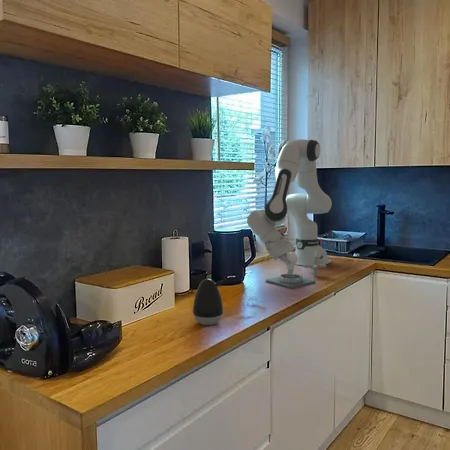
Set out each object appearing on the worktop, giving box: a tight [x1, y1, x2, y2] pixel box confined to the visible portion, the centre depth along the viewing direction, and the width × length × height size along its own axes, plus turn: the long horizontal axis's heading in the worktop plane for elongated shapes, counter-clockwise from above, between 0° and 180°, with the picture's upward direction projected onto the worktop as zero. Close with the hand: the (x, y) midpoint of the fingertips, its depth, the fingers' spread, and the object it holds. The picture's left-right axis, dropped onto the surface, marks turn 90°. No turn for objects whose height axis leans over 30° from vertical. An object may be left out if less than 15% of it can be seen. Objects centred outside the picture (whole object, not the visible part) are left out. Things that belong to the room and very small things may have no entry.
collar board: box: [265, 273, 316, 290], centre depth 208 cm, size 16×16×3 cm
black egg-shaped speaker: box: [192, 278, 224, 326], centre depth 152 cm, size 10×10×15 cm
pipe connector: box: [304, 256, 327, 278], centre depth 220 cm, size 10×10×10 cm
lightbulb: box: [284, 251, 298, 276], centre depth 207 cm, size 6×6×11 cm
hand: (291, 262), depth 207 cm, fingers closed on lightbulb, 6 cm apart
